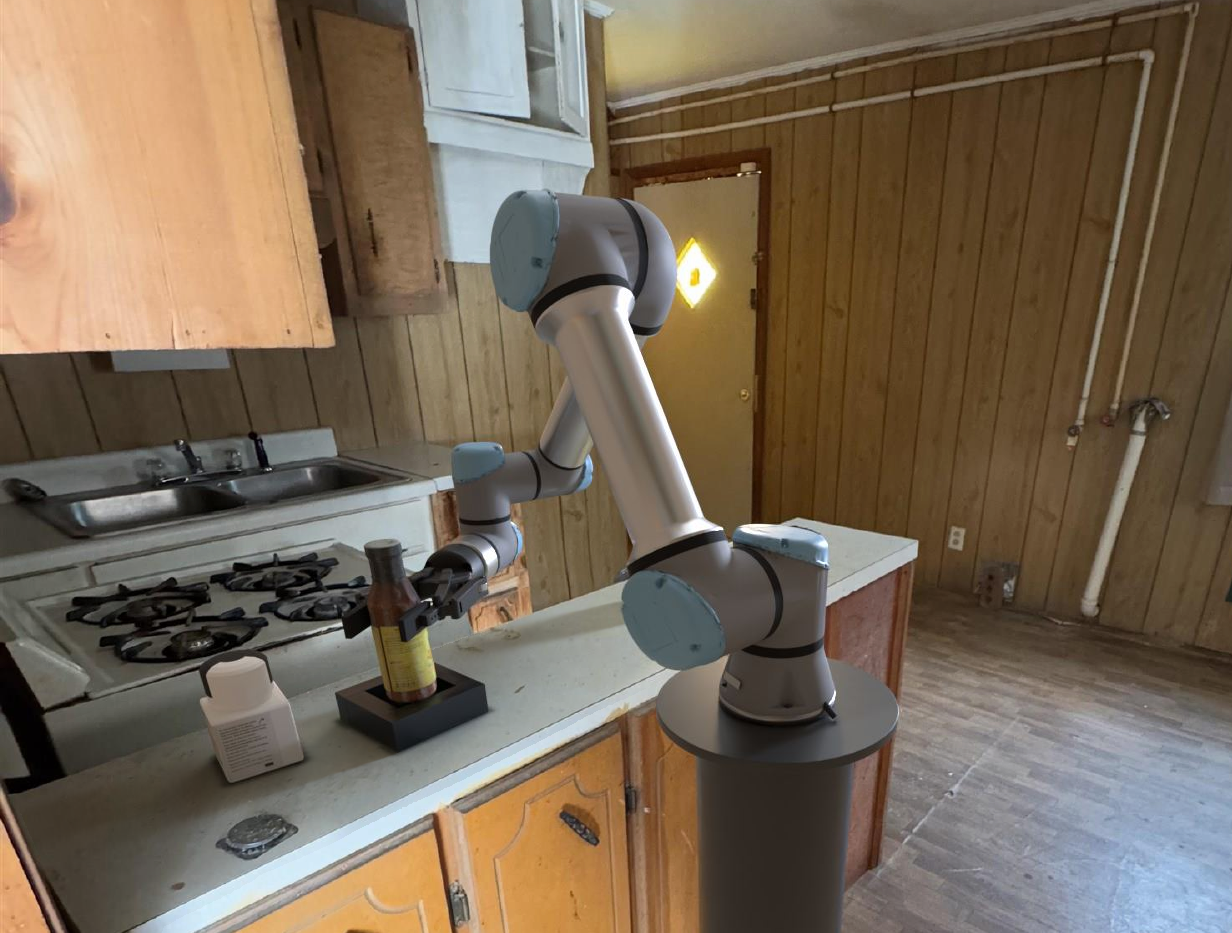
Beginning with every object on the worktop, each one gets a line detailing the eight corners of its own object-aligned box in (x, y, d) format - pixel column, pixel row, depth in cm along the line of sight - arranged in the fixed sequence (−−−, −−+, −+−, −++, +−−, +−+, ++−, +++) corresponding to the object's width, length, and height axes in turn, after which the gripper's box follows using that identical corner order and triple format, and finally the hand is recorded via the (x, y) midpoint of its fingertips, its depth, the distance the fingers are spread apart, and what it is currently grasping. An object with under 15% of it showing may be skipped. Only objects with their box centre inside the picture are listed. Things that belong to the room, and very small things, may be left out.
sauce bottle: (448, 689, 100) (426, 539, 92) (412, 710, 95) (385, 553, 87) (410, 679, 103) (385, 532, 95) (373, 699, 98) (343, 546, 89)
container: (216, 756, 91) (184, 655, 86) (288, 735, 96) (262, 637, 90) (229, 785, 86) (196, 678, 80) (305, 761, 90) (279, 658, 85)
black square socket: (488, 711, 101) (485, 683, 100) (397, 752, 92) (392, 723, 90) (430, 684, 109) (426, 658, 107) (340, 720, 99) (334, 692, 98)
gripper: (528, 596, 111) (457, 664, 90) (401, 590, 113) (304, 654, 93) (523, 545, 108) (448, 603, 87) (393, 540, 110) (290, 595, 90)
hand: (374, 629), depth 90 cm, fingers closed on sauce bottle, 6 cm apart
